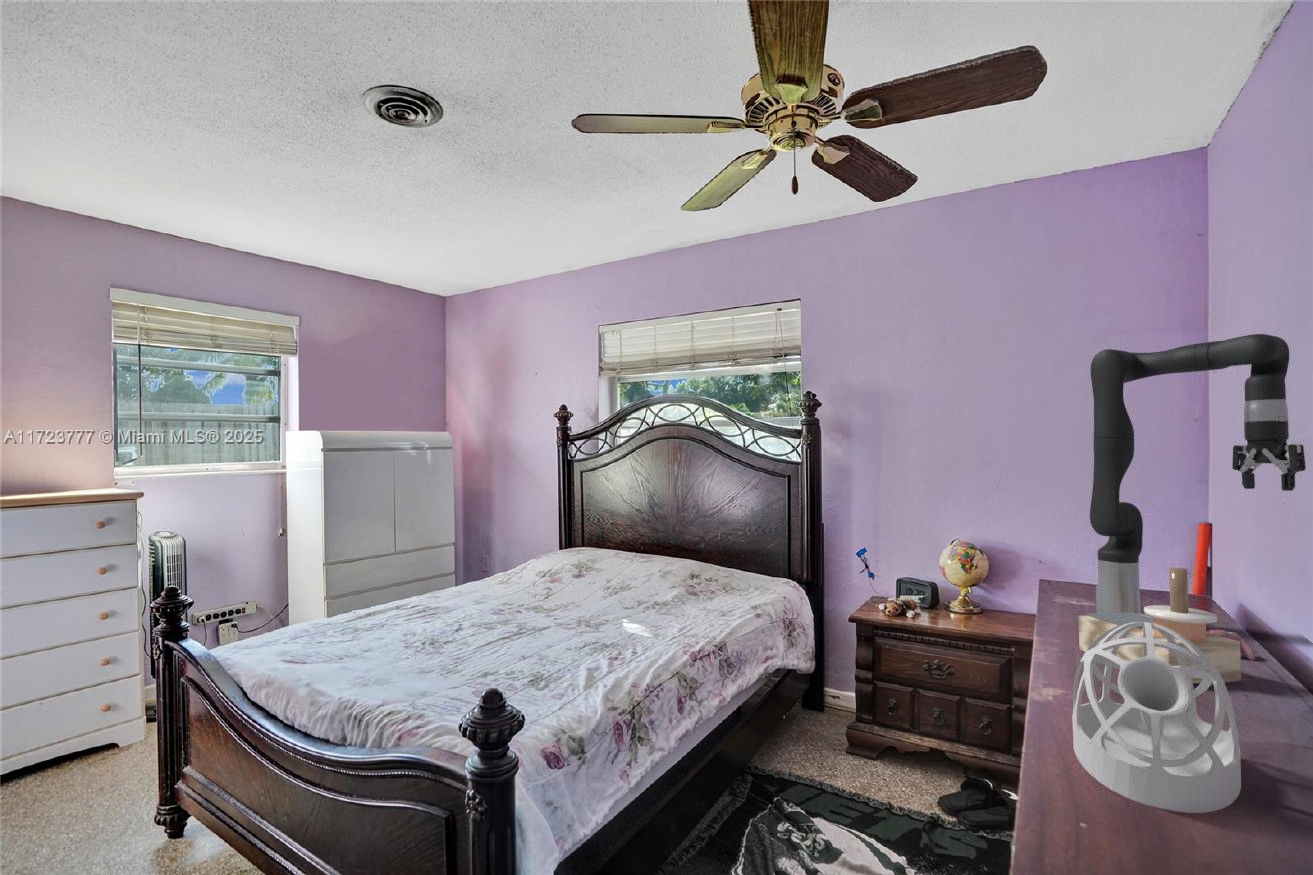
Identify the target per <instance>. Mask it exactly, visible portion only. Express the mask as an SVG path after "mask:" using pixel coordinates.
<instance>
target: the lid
mask: <svg viewBox="0 0 1313 875" xmlns="http://www.w3.org/2000/svg"><path fill="white" fill-rule="evenodd" d="M1168 572H1169V573H1168V576H1169V577H1168V579H1169V605H1165V604H1164V605H1163V604H1161V605H1160V604H1159V605H1157V604H1154V605H1153V604H1152V605H1146V606H1144V607H1143V613H1144V615H1146V616H1150V617H1155V618H1159V619H1164V620H1169V621H1176V622H1184V623H1198V624H1206V625H1207V624H1214V623H1217V622H1218V615H1217V614H1215V613H1213V612H1210V611H1207V610H1203V609H1198V608H1192V607H1189V584H1188V580H1189V579H1188V569H1187V568H1185V567H1184V568H1181V567H1168Z"/></svg>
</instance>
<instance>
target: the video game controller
mask: <svg viewBox="0 0 1313 875" xmlns="http://www.w3.org/2000/svg"><path fill="white" fill-rule="evenodd" d="M1206 632H1207V633H1211V634H1214V635H1218V636H1222V637H1225V638H1229V639H1232V640H1236V641H1239V642H1240V654H1241V655H1242V656H1244V657H1245V658H1246V659H1248V660H1250V661H1255V659H1256V654H1255V652H1254V650H1253V649H1252V648H1251V647H1250V645H1249V644H1248V643H1247V642H1246V641H1245V639H1244V638H1243V637H1242V636H1241V635H1239V634H1238V633H1237V632H1234V631H1233V632H1231V631H1226V630H1224V629H1210V630H1206Z"/></svg>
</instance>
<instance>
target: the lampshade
mask: <svg viewBox="0 0 1313 875" xmlns="http://www.w3.org/2000/svg"><path fill="white" fill-rule="evenodd" d="M1142 626H1143V638H1140V637H1135V638H1125V637H1126V636H1127V634H1129V633H1130V632H1131V631H1133V630H1134V629H1135V628H1138V627H1142ZM1152 628H1154V629H1156V630H1157V631H1159V632H1160V633H1161V634H1162V635H1163V636H1164V637H1165V638H1166V640H1167V641H1168V642H1166V641H1162V640H1157V639H1153V631H1152ZM1120 632H1121V633H1120ZM1118 633H1120V634H1119V635H1118V636H1117V638H1116V639H1115V640H1112V641H1110V640H1111V639H1112V638H1113V637H1114V636H1115V635H1116V634H1118ZM1169 633H1170V634H1172V635H1173V636H1174V637H1176V638H1177V639H1178V640H1180V641H1181V642H1182V643H1183V644H1184V645H1185V646H1186V647H1187V648H1189V650H1190V651H1189V650H1187V649H1185V648H1183V647H1180V646H1178V644H1177V643H1176V641H1175V640H1174V638H1173V637H1172V636H1171V635H1170V634H1169ZM1103 638H1104V640H1103V641H1102V642H1101V643H1100V644H1099V645H1098V646H1096V645H1097V643H1098V642H1100V641H1101V640H1102V639H1103ZM1133 644H1142V645H1143V657H1142V658H1137V659H1133V660H1131V661H1128V660H1125V659H1121V658H1119V657H1117V656H1116V654H1117V651H1118V649H1119V646H1124V645H1133ZM1095 646H1096V647H1095ZM1154 646H1157V647H1162V648H1166V649H1169V650H1172V651H1174V653H1175V655H1176V657H1177V659H1178V662H1179V665H1180V666H1172V665H1170V664H1168V663H1166V662H1164V661H1162V660H1159V659H1158V658H1157V657H1156V656H1155V650H1154ZM1109 649H1110V651H1109V652H1107V651H1106V650H1109ZM1184 656H1186V657H1188V658H1189V659H1191V660H1193V661H1195V662H1196V663H1198V664H1195V665H1191V666H1188V665H1187V663H1186V660H1185V658H1184ZM1097 664H1098V665H1099V664H1100V665H1104V671H1103V672H1101V670H1100V667H1099V666H1098V665H1097ZM1082 668H1083V673H1082V674H1081V671H1082ZM1113 668H1114V669H1117V670H1119V672H1118V676H1117V682H1116V683H1117V685H1116V684H1114V683H1113V682H1111V677H1112V672H1113ZM1080 675H1081V678H1080ZM1094 675H1095V676H1096V678H1097V679H1098V680H1099V681H1101V683H1102V692H1101V693H1102V695H1101V698H1100V699H1098V698H1097V693H1096V688H1095V683H1094ZM1079 678H1080V681H1079ZM1192 678H1201V679H1203V680H1202V681H1201V683H1198V685H1197V687H1195V688H1194V683H1192ZM1078 683H1079V685H1078ZM1212 684H1213V685H1212ZM1211 686H1213V689H1214V690H1213V691H1214V700H1215V708H1214V709H1215V710H1214V717H1213V720H1212V723H1209V722H1206V721H1204V720H1203V718H1201V717H1200V716H1199V714H1198V710H1197V700H1196V699H1197V697H1199V696H1201V695H1202V694H1203V693H1205V692H1206V691H1207V690H1208V689H1209V688H1210V687H1211ZM1084 690H1086V693H1087V694H1086V695H1087V697H1088V700H1089V702H1086V703H1083V704H1082V699H1083V695H1084ZM1111 690H1112V691H1113V692H1115V693H1117V694H1118V695H1121V696H1122V698H1123V700H1124V701H1123V703H1118V702H1115V701H1113V700H1112V699H1111V695H1110V692H1111ZM1072 704H1073V706H1072V707H1073V711H1072V715H1071V716H1072V717H1071V718H1072V720H1071V721H1072V738H1073V739H1072V740H1073V741H1072V742H1073V743H1072V744H1073V751H1074V754H1075V756H1076V758H1077V759H1078V761H1079V763H1080V765H1082V768H1084V769H1085V770H1086V772H1088V774H1089V775H1091V777H1093V778H1094V779H1095V780H1097V782H1099V783H1100V784H1101V785H1103V786H1105V787H1106V788H1108V789H1109V790H1111V791H1112V792H1115V793H1117V794H1118V795H1121V796H1123V797H1125V798H1127V799H1128V800H1129V799H1130V800H1132V801H1134V802H1137V803H1140V804H1142V805H1147V806H1150V807H1153V808H1158V809H1162V810H1164V811H1165V810H1166V811H1171V812H1176V813H1177V812H1179V813H1187V814H1203V813H1205V814H1206V813H1210V812H1212V813H1213V812H1216V811H1219V810H1222V809H1225V808H1227V807H1229V806H1230V805H1231V804H1233V803H1234V802H1235V801H1236V799H1238V798H1239V795H1240V793H1241V789H1242V765H1241V762H1242V760H1241V747H1240V740H1239V733H1238V732H1239V731H1238V727H1237V723H1236V714H1235V710H1234V704H1233V701H1232V698H1231V696H1230V692H1229V691H1228V689H1227V685H1226V682H1224V681H1223V679H1222V677H1221V676H1220V674H1219V672H1218V671H1217V669H1216V668H1215V667H1214V666H1213V664H1212V663H1211V662H1210V660H1209V659H1208V658H1207V657H1206V656H1205V655H1204V654H1203V653H1202V651H1201V650H1200V649H1199V648H1198V647H1197V646H1196V645H1195V644H1193V643H1192V642H1191V641H1189V640H1188V639H1187V638H1185V637H1184V636H1182V635H1181V634H1179V633H1177V632H1176V631H1174V630H1171V629H1169V628H1167V627H1164V626H1161V625H1158V624H1154V623H1148V622H1130V623H1126V624H1122V625H1118V626H1116V627H1114V628H1112V629H1109V630H1108V631H1106V632H1105V633H1103V634H1102V635H1100V636H1099V637H1098V638H1097V639H1096V640H1095V641H1094V642H1093V643H1092V644H1091V645H1090V647H1089V648H1088V649H1087V651H1086V652H1085V651H1084V654H1083V655H1082V657H1081V658H1080V662H1079V664H1078V665H1077V668H1076V671H1075V675H1074V678H1073V686H1072ZM1226 715H1227V719H1228V723H1229V729H1228V730H1227V731H1226V730H1224V729H1222V728H1223V725H1224V722H1225V718H1226V717H1225V716H1226Z"/></svg>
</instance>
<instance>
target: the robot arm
mask: <svg viewBox="0 0 1313 875" xmlns="http://www.w3.org/2000/svg"><path fill="white" fill-rule="evenodd" d="M1289 363H1290V348H1289V345H1288V342H1286V341H1285V339H1283V338H1281V337H1279V336H1276V335H1272V334H1267V333H1266V334H1264V333H1255V334H1248V335H1243V336H1237V337H1233V338H1229V339H1224V340H1214V341H1207V342H1206V341H1205V342H1201V343H1199V342H1198V343H1192V344H1187V345H1182V346H1178V347H1174V348H1170V349H1167V350H1161V351H1156V352H1129V351H1127V350H1122V349H1121V350H1119V349H1109V348H1108V349H1103V350H1101V351H1099V352H1098V353H1096V354H1095V356H1093V359H1092V361H1091V362H1090V370H1089V371H1090V380H1091V381H1090V382H1091V385H1092V386H1091V388H1092V396H1093V397H1092V398H1093V442H1092V443H1093V478H1092V479H1093V480H1092V492H1091V500H1090V505H1089V506H1090V507H1089V521H1090V522H1089V523H1090V526H1091V527H1092V529H1093V531H1095V533H1096V534H1098V535H1100V536H1101V537H1102V536H1103V537H1108V540H1107V542H1106V543H1105V545H1103V546H1101V547H1099V549H1098V550H1097V574H1098V575H1097V577H1098V579H1097V580H1098V584H1097V585H1096V586H1095V601H1096V602H1095V604H1096V605H1095V610H1096V612H1095V613H1126V612H1133V613H1137V614H1141V603H1140V602H1141V598H1140V597H1141V596H1140V595H1141V594H1140V566H1139V563H1140V561H1139V560H1140V559H1139V558H1140V555H1141V554H1142V551H1143V550H1142V549H1143V536H1144V535H1143V534H1144V532H1143V530H1144V528H1143V527H1144V524H1143V516H1142V512H1140V509H1139V508H1138V507H1137V506H1136V505H1135V504H1133V503H1131V502H1127V501H1125V502H1124V501H1122V502H1121V501H1120V491H1121V484H1122V481H1123V479H1124V477H1125V475H1126V473H1127V471H1128V469H1129V468H1130V465H1131V463H1132V462H1133V458H1134V455H1135V430H1134V426H1133V422H1132V420H1131V418H1130V415H1129V413H1128V411H1127V408H1126V405H1125V401H1124V400H1125V399H1124V385H1125V383H1128V382H1129V383H1130V382H1133V381H1137V380H1142V379H1145V378H1150V377H1155V376H1162V375H1167V374H1168V375H1169V374H1178V373H1179V374H1180V373H1181V374H1184V373H1192V372H1193V373H1194V372H1195V373H1197V372H1206V371H1215V370H1216V371H1217V370H1223V369H1228V368H1230V367H1237V366H1247V365H1249V366H1250V376H1249V377H1248V378H1246V380H1245V382H1244V408H1243V424H1244V425H1243V427H1244V428H1243V430H1244V431H1243V432H1244V440H1245V441H1246V442H1247V444H1246V445H1245V444H1243V445H1240V444H1239V445H1238V444H1236V445H1235V444H1234V445H1233V447H1232V470H1234V471H1238V472H1240V473H1241V481H1242V482H1241V485H1242V487H1243V489H1245V490H1247V489H1248V490H1250V489H1251V490H1253V489H1255V487H1256V481H1255V476H1256V475H1255V471H1256V469H1257V468H1258V467H1260V466H1261V465H1262V464H1272V465H1273V466H1274V467H1277V468H1278V469H1279V470H1280V471H1281V474H1280V476H1281V478H1280V481H1281V482H1280V483H1281V490H1282V491H1285V492H1286V491H1287V492H1288V491H1294V489H1295V488H1296V473H1300V472H1304V471H1305V470H1306V469H1307V468H1306V460H1305V459H1306V458H1305V449H1304V445H1303V444H1300V443H1298V444H1297V443H1294V444H1288V443H1287V440H1289V438H1290V433H1289V432H1290V431H1289V430H1290V429H1289V428H1290V427H1289V410H1288V405H1287V395H1286V394H1287V392H1286V377H1287V374H1288V368H1289ZM1247 454H1248V455H1247ZM1287 454H1288V456H1287Z"/></svg>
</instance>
